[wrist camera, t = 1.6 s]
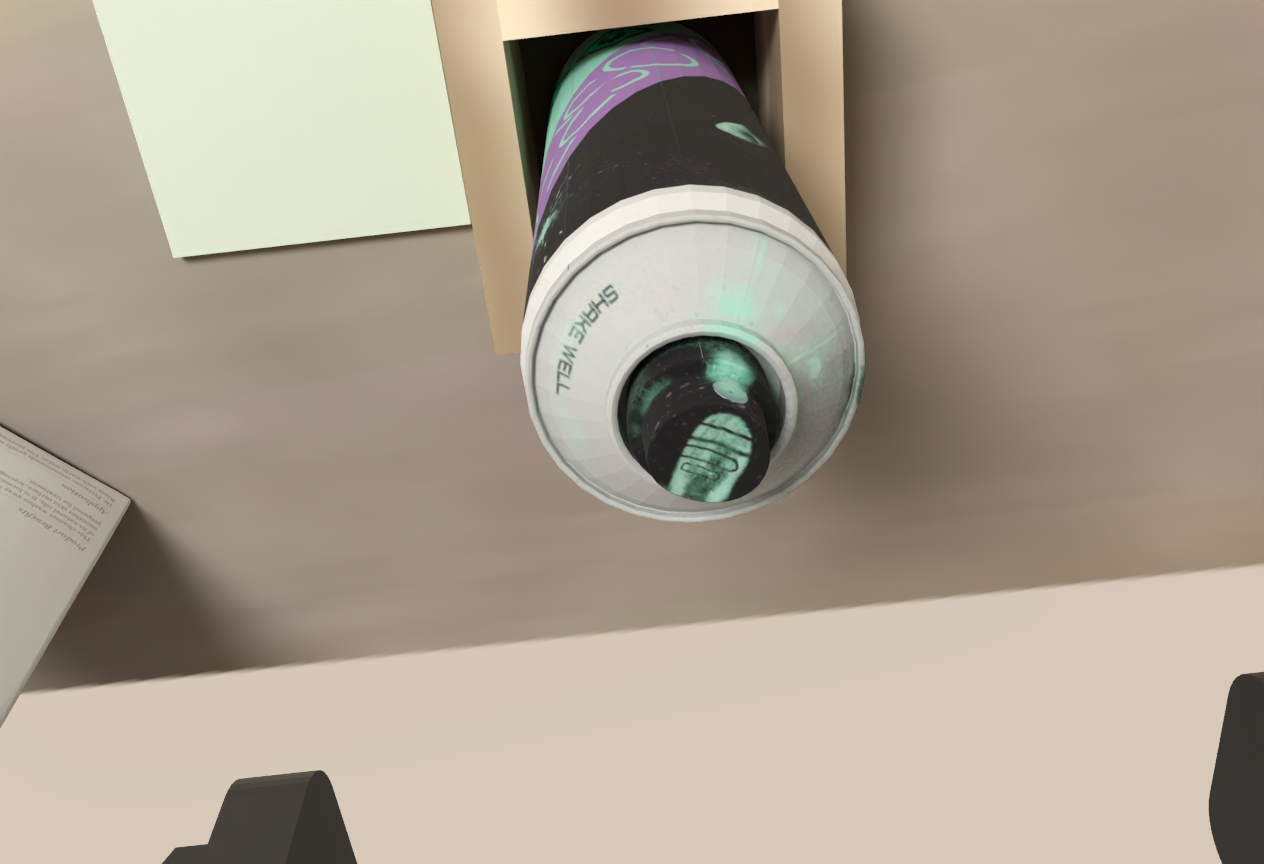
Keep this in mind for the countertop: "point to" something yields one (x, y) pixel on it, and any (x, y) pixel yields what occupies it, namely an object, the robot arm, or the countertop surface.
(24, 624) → the skincare box
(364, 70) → the mat
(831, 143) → the wooden box holder
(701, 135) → the spray can
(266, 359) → the countertop surface
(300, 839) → the robot arm
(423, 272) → the countertop surface
